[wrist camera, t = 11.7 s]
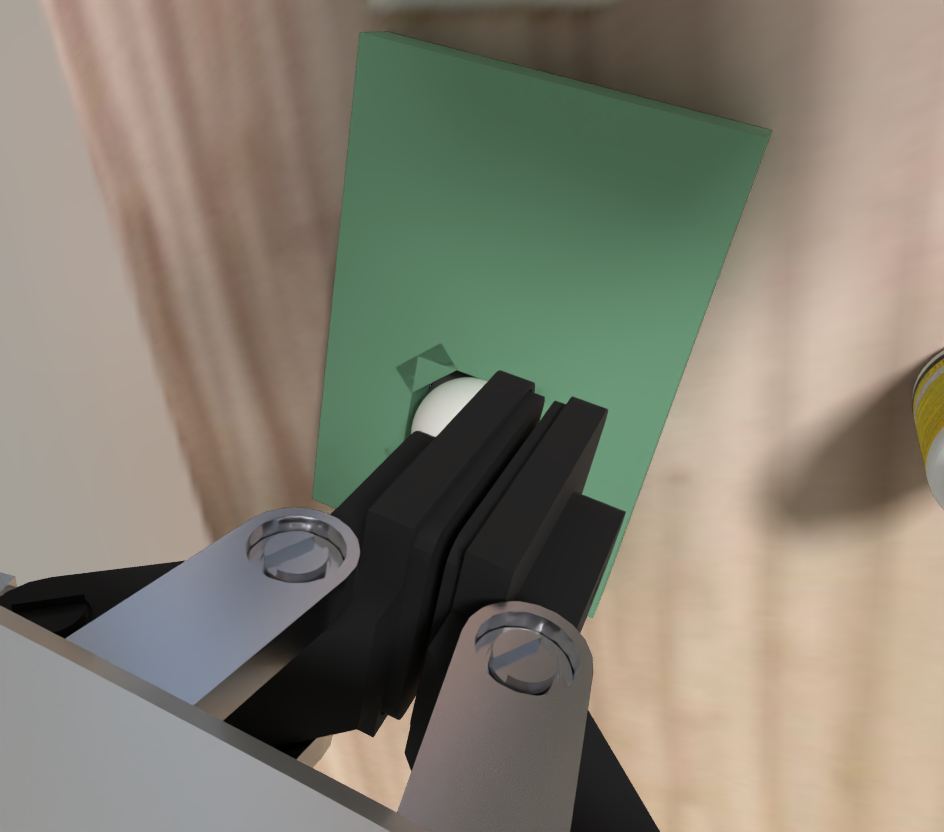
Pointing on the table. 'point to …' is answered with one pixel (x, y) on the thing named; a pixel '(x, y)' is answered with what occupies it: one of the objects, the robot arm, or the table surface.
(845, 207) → the table surface
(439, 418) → the ball
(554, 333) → the mat
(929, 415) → the supplement bottle
